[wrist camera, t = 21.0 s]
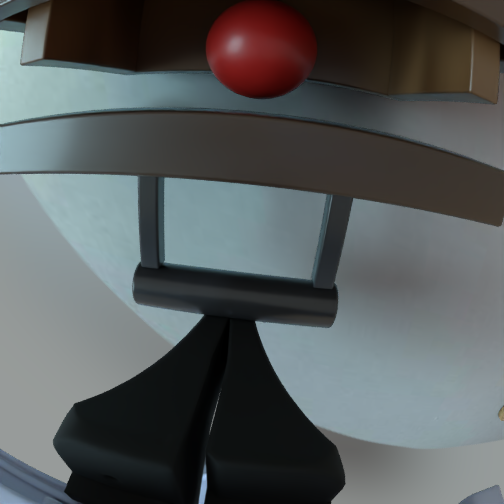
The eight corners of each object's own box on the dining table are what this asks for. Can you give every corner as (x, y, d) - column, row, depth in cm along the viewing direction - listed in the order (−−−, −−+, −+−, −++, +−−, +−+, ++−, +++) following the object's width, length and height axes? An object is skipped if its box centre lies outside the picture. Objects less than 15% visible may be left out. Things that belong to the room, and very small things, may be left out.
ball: (262, 52, 9) (260, 125, 9) (190, 16, 7) (177, 93, 7) (333, 18, 7) (344, 97, 7) (261, -38, 5) (260, 39, 5)
